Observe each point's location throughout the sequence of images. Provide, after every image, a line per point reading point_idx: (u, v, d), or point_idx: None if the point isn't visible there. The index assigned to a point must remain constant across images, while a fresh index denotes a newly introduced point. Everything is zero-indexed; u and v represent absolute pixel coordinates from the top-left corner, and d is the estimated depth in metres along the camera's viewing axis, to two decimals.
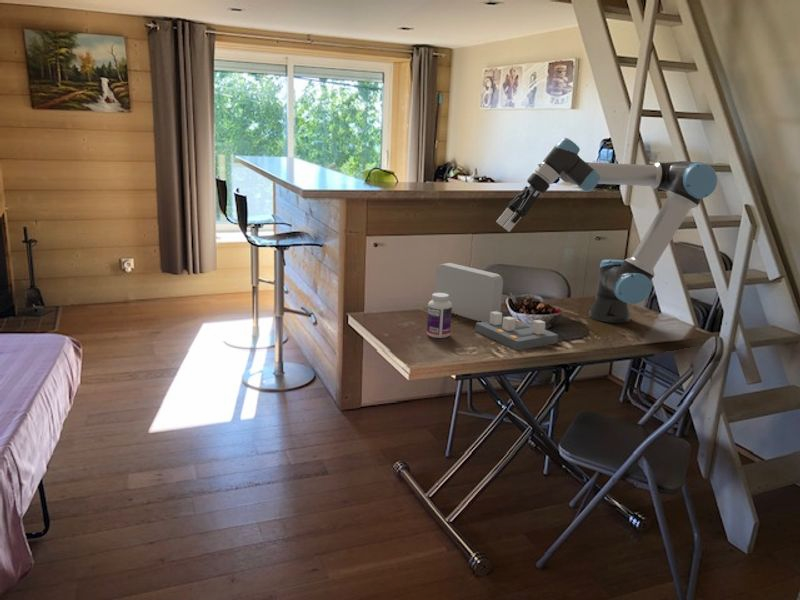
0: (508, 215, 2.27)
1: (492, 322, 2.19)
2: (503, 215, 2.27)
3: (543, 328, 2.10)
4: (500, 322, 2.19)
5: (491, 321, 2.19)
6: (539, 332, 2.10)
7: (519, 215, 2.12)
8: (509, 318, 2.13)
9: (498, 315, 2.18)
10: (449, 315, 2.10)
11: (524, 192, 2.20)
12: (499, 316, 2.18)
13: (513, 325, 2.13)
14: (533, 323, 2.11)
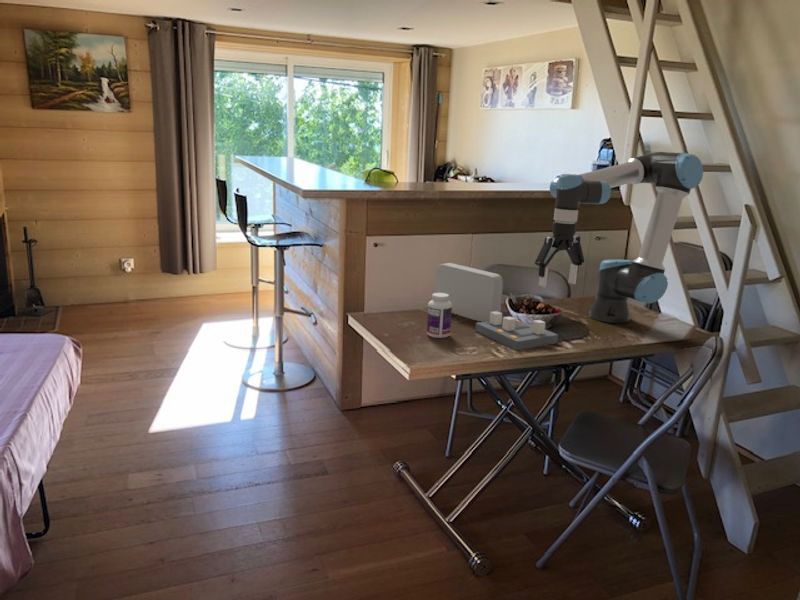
0: (574, 270, 2.13)
1: (492, 322, 2.19)
2: (570, 273, 2.15)
3: (543, 328, 2.10)
4: (500, 322, 2.19)
5: (491, 321, 2.19)
6: (539, 332, 2.10)
7: (540, 267, 2.06)
8: (509, 318, 2.13)
9: (498, 315, 2.18)
10: (449, 315, 2.10)
11: None
12: (499, 316, 2.18)
13: (513, 325, 2.13)
14: (533, 323, 2.11)
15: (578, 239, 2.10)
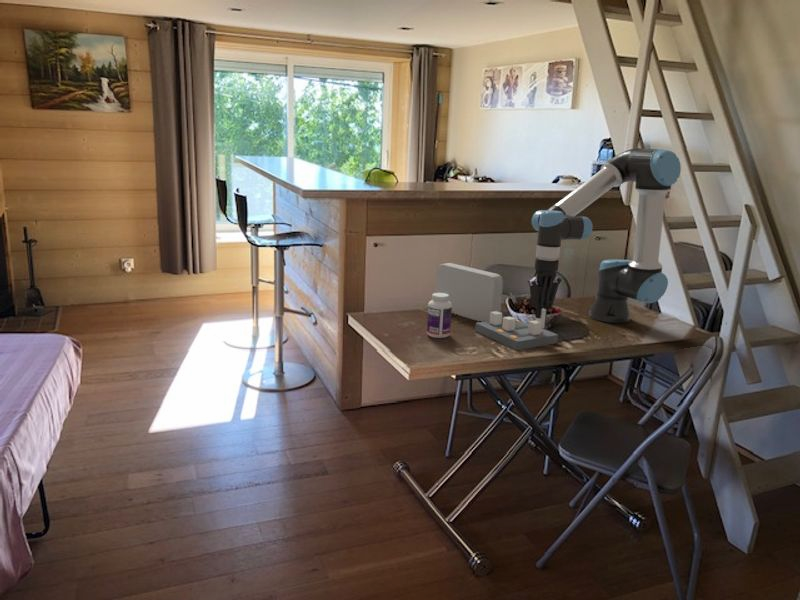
0: None
1: (492, 322, 2.19)
2: None
3: (539, 329, 2.10)
4: (500, 322, 2.19)
5: (491, 321, 2.19)
6: (535, 333, 2.09)
7: (537, 309, 2.09)
8: (509, 318, 2.13)
9: (498, 315, 2.18)
10: (449, 315, 2.10)
11: None
12: (499, 316, 2.18)
13: (513, 325, 2.13)
14: (529, 324, 2.10)
15: (558, 280, 2.09)
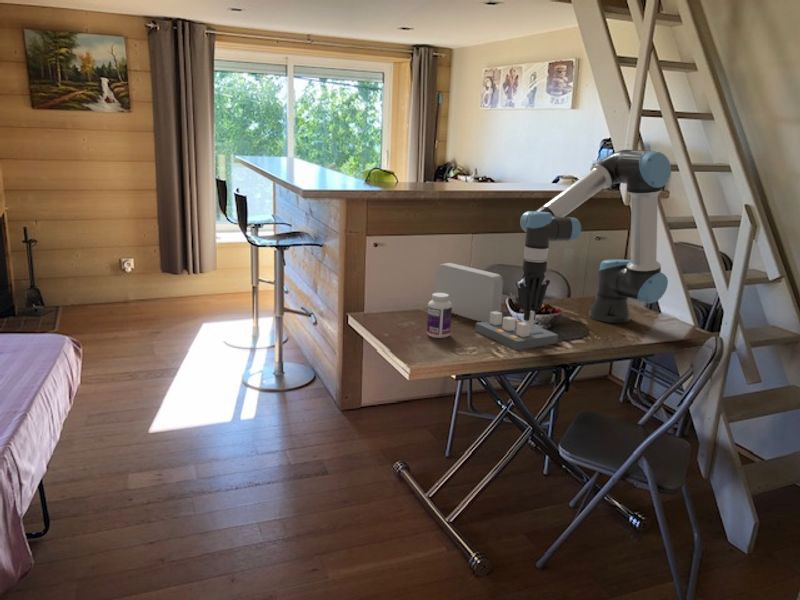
0: None
1: (492, 322, 2.19)
2: None
3: (528, 330, 2.07)
4: (500, 322, 2.19)
5: (491, 321, 2.19)
6: (524, 334, 2.07)
7: (525, 311, 2.06)
8: (509, 318, 2.13)
9: (498, 315, 2.18)
10: (449, 315, 2.10)
11: None
12: (499, 316, 2.18)
13: (513, 325, 2.13)
14: (518, 325, 2.08)
15: (547, 282, 2.07)
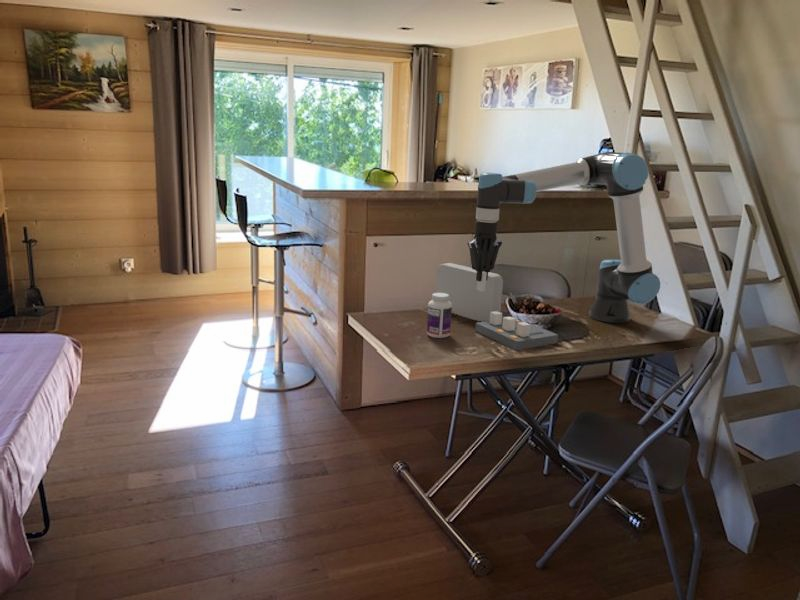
0: None
1: (492, 322, 2.19)
2: None
3: (528, 330, 2.07)
4: (500, 322, 2.19)
5: (491, 321, 2.19)
6: (524, 334, 2.07)
7: (477, 272, 2.10)
8: (509, 318, 2.13)
9: (498, 315, 2.18)
10: (449, 315, 2.10)
11: None
12: (499, 316, 2.18)
13: (513, 325, 2.13)
14: (518, 325, 2.08)
15: (499, 243, 2.10)
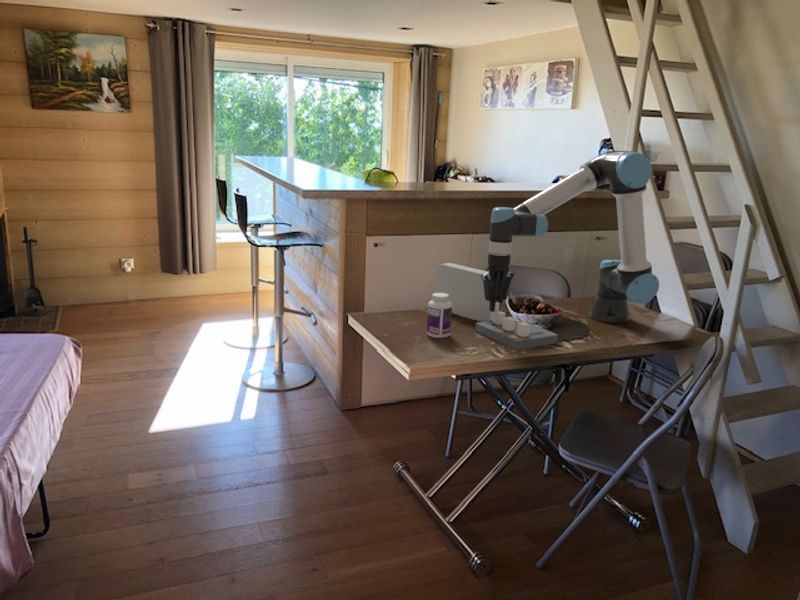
0: None
1: (495, 322, 2.19)
2: None
3: (528, 330, 2.07)
4: None
5: (494, 321, 2.20)
6: (524, 334, 2.07)
7: (491, 302, 2.16)
8: (509, 318, 2.13)
9: (501, 315, 2.18)
10: (449, 315, 2.10)
11: None
12: (503, 315, 2.19)
13: (513, 325, 2.13)
14: (518, 325, 2.08)
15: (511, 275, 2.17)
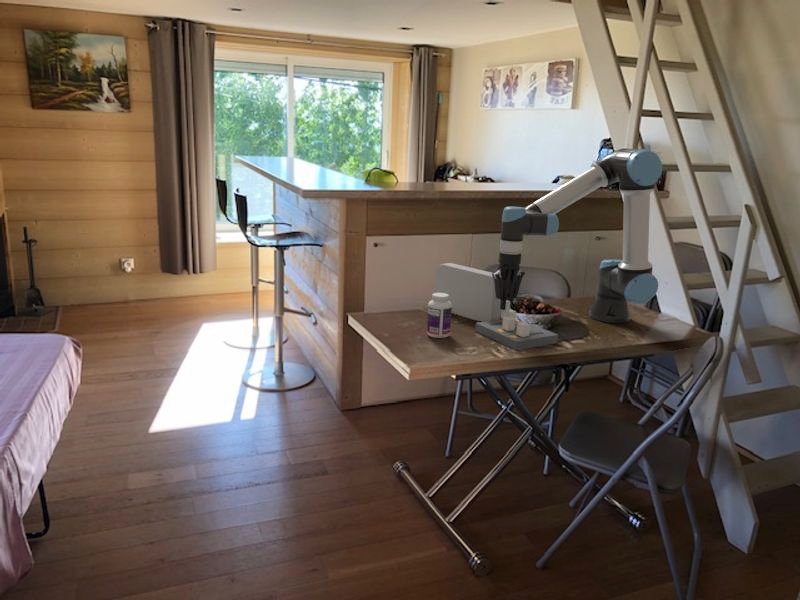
0: None
1: None
2: None
3: (528, 330, 2.07)
4: None
5: None
6: (524, 334, 2.07)
7: (501, 301, 2.19)
8: (509, 318, 2.13)
9: (512, 313, 2.21)
10: (449, 315, 2.10)
11: None
12: (513, 314, 2.21)
13: (513, 325, 2.13)
14: (518, 325, 2.08)
15: (522, 273, 2.19)
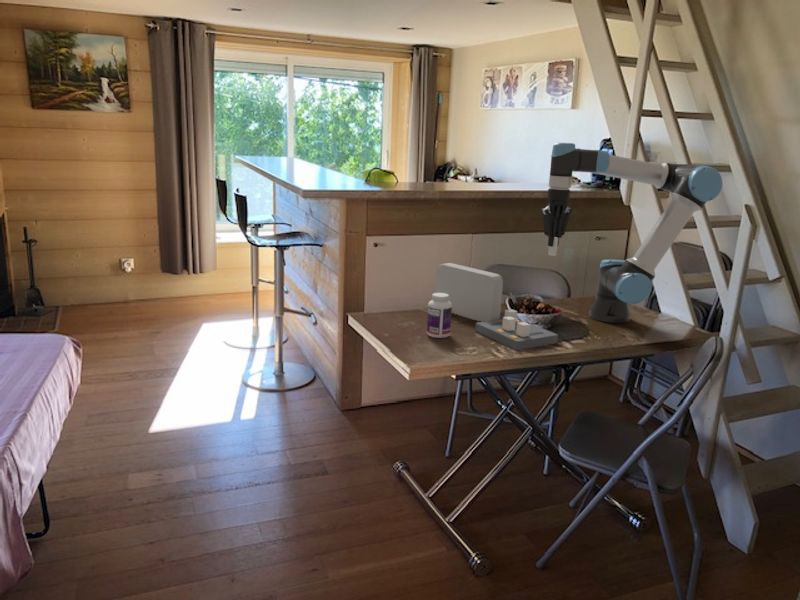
0: None
1: None
2: None
3: (528, 330, 2.07)
4: None
5: None
6: (524, 334, 2.07)
7: (550, 237, 2.22)
8: (509, 318, 2.13)
9: (513, 313, 2.21)
10: (449, 315, 2.10)
11: None
12: (514, 314, 2.21)
13: (513, 325, 2.13)
14: (518, 325, 2.08)
15: (570, 210, 2.22)
